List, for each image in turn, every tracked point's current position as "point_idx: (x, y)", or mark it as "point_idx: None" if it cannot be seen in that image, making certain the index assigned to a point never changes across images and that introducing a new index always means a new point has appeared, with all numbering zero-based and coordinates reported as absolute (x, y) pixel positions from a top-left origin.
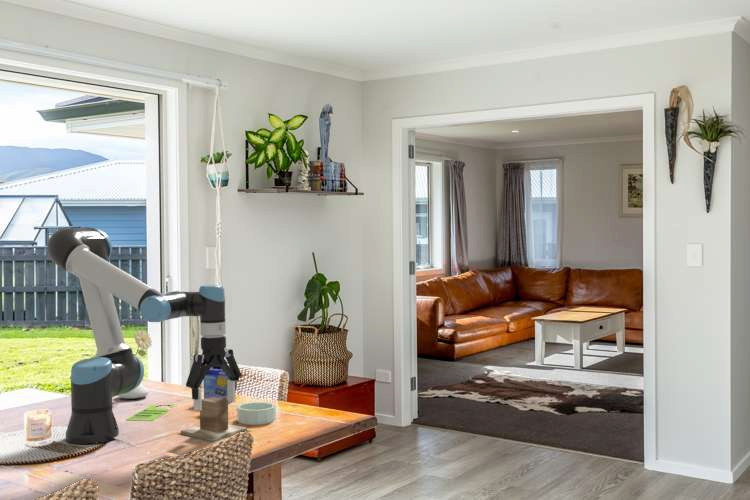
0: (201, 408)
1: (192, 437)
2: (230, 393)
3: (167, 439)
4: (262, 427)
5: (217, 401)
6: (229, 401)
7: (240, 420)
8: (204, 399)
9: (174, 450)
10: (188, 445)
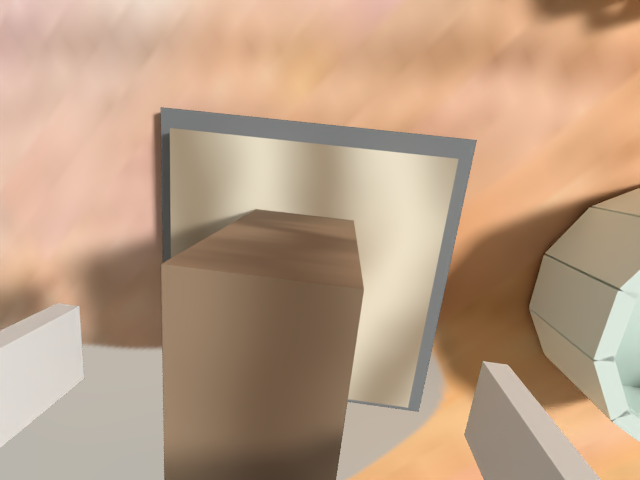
0: (67, 388)
1: (164, 243)
2: (514, 473)
3: (104, 111)
4: (547, 380)
5: (213, 472)
6: (478, 383)
7: (557, 271)
8: (204, 302)
9: (15, 286)
10: (102, 285)
